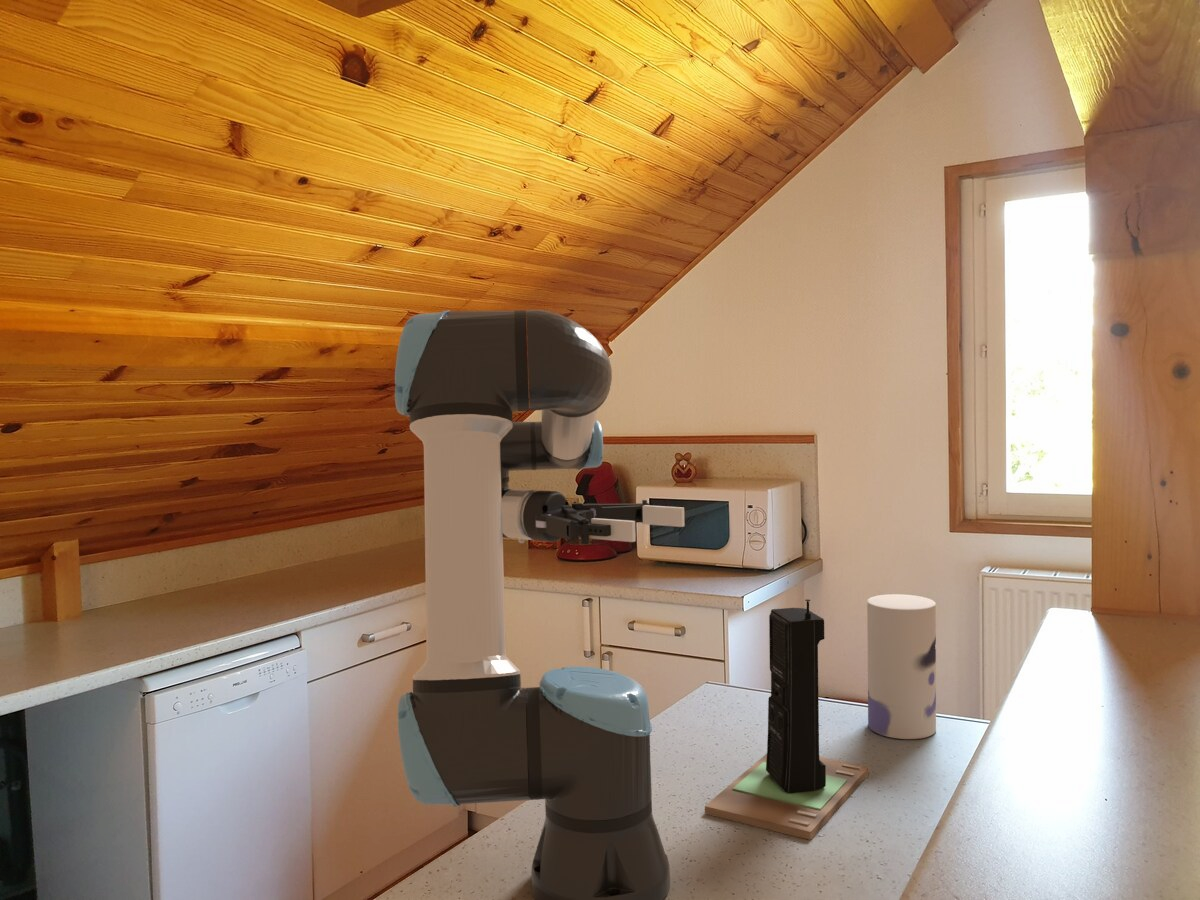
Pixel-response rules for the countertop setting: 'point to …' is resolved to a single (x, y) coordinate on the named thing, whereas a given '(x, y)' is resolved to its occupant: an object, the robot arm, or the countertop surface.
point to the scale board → (786, 799)
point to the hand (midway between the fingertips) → (659, 524)
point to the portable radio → (794, 700)
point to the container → (901, 665)
